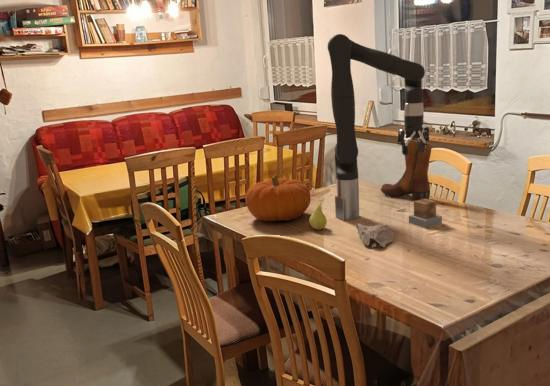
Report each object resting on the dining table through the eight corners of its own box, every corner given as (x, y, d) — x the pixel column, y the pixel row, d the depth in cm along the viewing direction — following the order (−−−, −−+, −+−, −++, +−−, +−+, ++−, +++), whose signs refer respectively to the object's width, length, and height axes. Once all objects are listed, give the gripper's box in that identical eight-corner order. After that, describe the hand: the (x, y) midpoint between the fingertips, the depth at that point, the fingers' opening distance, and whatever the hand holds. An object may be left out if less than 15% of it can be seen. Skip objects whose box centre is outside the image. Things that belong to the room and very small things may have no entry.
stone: (348, 249, 209) (382, 261, 198) (344, 231, 204) (378, 242, 194) (372, 227, 217) (405, 237, 206) (368, 209, 212) (402, 219, 202)
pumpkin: (261, 233, 223) (257, 185, 218) (237, 216, 248) (233, 172, 243) (323, 220, 234) (321, 174, 229) (294, 205, 259) (292, 163, 254)
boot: (377, 195, 266) (376, 140, 259) (390, 191, 271) (389, 137, 265) (421, 204, 247) (421, 145, 240) (433, 199, 252) (434, 141, 245)
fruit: (306, 229, 223) (305, 201, 220) (318, 224, 229) (316, 196, 226) (319, 232, 219) (318, 203, 216) (331, 227, 224) (330, 199, 221)
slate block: (425, 229, 216) (425, 220, 215) (408, 224, 224) (408, 215, 223) (441, 224, 220) (441, 216, 220) (425, 219, 228) (425, 211, 227)
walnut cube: (424, 218, 217) (424, 204, 216) (414, 215, 222) (413, 201, 221) (435, 215, 220) (436, 201, 218) (424, 212, 225) (424, 198, 224)
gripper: (421, 111, 229) (420, 149, 233) (393, 114, 223) (393, 154, 227) (434, 112, 222) (433, 152, 226) (405, 116, 216) (405, 157, 221)
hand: (413, 153), depth 227 cm, fingers open, 8 cm apart
